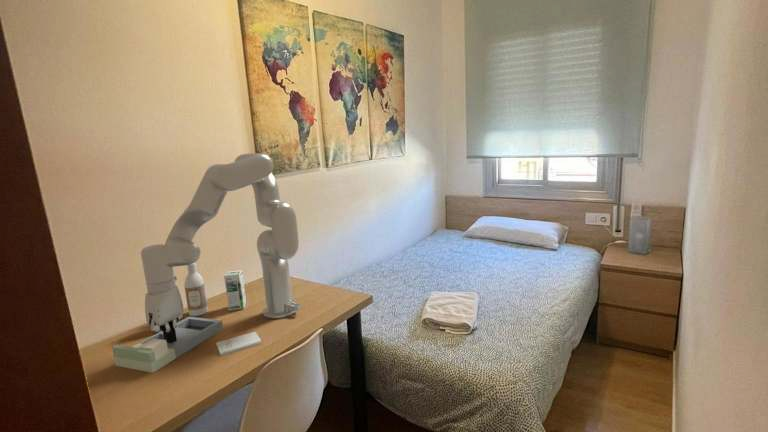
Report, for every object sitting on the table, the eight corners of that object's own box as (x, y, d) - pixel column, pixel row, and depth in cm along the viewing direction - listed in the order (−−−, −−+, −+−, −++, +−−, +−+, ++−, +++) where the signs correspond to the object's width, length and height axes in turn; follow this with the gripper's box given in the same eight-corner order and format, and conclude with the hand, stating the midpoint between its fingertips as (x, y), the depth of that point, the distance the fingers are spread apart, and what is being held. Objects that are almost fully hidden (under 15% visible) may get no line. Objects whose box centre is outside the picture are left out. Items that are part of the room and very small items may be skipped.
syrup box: (228, 311, 154) (223, 275, 152) (232, 305, 160) (227, 270, 157) (243, 309, 155) (238, 273, 152) (246, 303, 161) (242, 269, 158)
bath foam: (186, 317, 150) (178, 267, 147) (191, 310, 157) (183, 262, 153) (206, 315, 152) (199, 264, 148) (210, 308, 158) (202, 259, 155)
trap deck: (223, 328, 139) (220, 312, 138) (152, 372, 113) (149, 353, 112) (190, 324, 144) (187, 308, 143) (115, 365, 118) (112, 347, 117)
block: (167, 350, 119) (166, 339, 119) (153, 359, 115) (151, 348, 114) (155, 349, 121) (153, 338, 120) (140, 357, 116) (138, 346, 116)
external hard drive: (261, 345, 127) (220, 357, 121) (255, 335, 134) (216, 346, 128) (261, 340, 126) (219, 352, 120) (255, 331, 133) (215, 341, 127)
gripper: (172, 276, 128) (181, 329, 132) (129, 293, 115) (140, 352, 118) (190, 278, 126) (198, 331, 129) (148, 295, 112) (159, 355, 115)
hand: (170, 341), depth 124 cm, fingers closed
